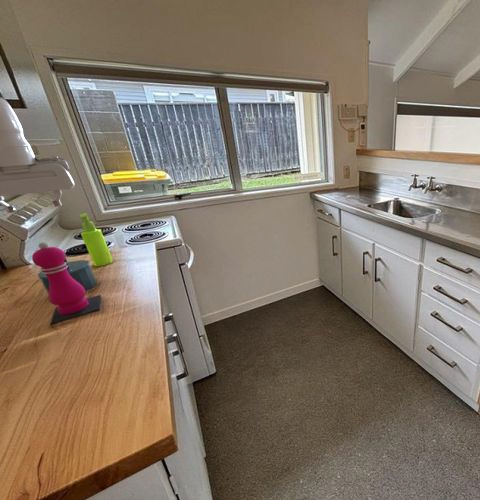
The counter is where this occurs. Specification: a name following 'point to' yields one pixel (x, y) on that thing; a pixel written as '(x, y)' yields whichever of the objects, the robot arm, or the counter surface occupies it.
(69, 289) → the pepper mill
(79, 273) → the pot
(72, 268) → the lid
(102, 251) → the soap dispenser
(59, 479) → the counter surface
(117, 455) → the counter surface
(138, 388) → the counter surface
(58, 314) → the mat
